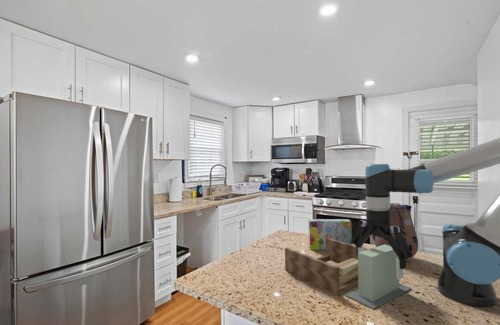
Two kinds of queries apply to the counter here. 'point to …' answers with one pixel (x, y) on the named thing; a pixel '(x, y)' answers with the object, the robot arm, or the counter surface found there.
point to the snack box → (328, 232)
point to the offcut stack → (348, 271)
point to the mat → (379, 301)
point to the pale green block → (377, 272)
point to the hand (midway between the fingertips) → (379, 271)
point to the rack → (322, 265)
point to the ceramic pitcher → (404, 220)
